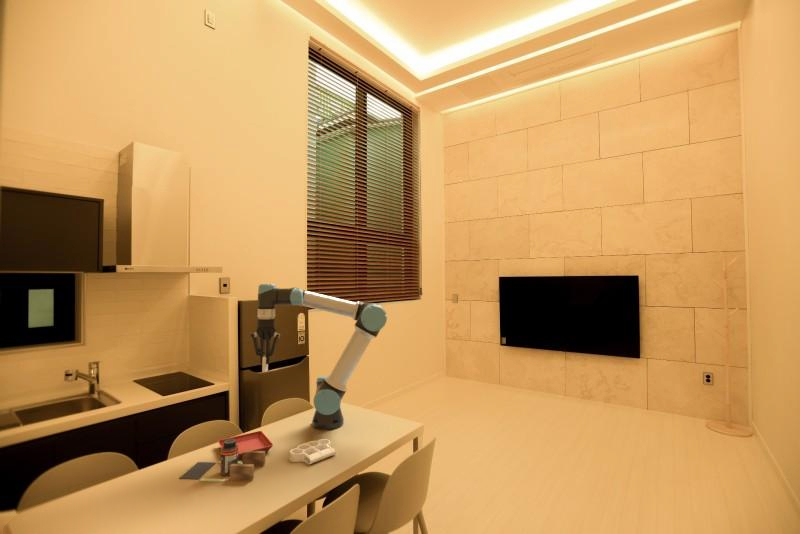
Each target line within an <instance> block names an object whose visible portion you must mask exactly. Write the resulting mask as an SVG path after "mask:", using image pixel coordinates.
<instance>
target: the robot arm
mask: <svg viewBox="0 0 800 534" xmlns="http://www.w3.org/2000/svg"><path fill="white" fill-rule="evenodd" d="M276 285H277V284H275V283H260V284H259V285H258V289H257V291H258V292H257V319H256V321H257V322H256V330H255V332H253V333H251V334H250V337H251V338H252V340H253V346H254V351H255V355H256V356H259V357H260V358H259V359H260V361H259V362H260V365H261V366H262V367H261V369H262V373H266V372H268V371H269V364H270V363H271V356H274V355H275V354H276V353H275V352H276V349H277V345H278V341H279V339H280V337H281V333H279V332H277V331H276V328H275V327H276V319H275V318H276V306H302V307H307V308H311V309H315V310H320V311H324V312H328V313H332V314H336V315H340V316H344V317H349V318H352V320H353V321H355V324H354V325H353V326H354V329H355V330H354V331H353V333H352V335H351V337H350V339H349V341H348V343H347V344H346V346H345V348H344V350H343V351H342V352H341V355H340V357H339V359H338V360H337V362H336V363H335V366H334V367H333V369H332V370H331V372H330V374H329V375H322V376H318V377H317V379H316V382H315V383H316V388H315V389H316V390H315V394H314V397H313V406H314V409H315V411H314V415H313V417H312V419H311V426H312V427H313V428H315V429H318V430H326V431H328V430H333V429H338V428H340V427H342V426H343V425H344V424H345V423H344V422H345V421H344V415H343V412H342V409H341V403H342V402H341V401H342V399H343V397H344V396H345V395H346V392H347V391H348V388H347V384H348V382H349V381H350V379H351V377H352V376H353V373H354V371H355V369H356V367H357V366H358V364H359V362H360V361H361V359H362V356H363V355H364V353H365V351H366V350H367V348H368V346H369V344H370V343H371V340H372V339H375V338H377V336H378V335H379V332H380V331H381V330H382V329H383V328H384V327H385V326H386V324H387V320H388V318H387V317H388V315H387V311H386V310H385V308H384V307H382V305H379V304H378V303H374V302H366V301H365V302H364V301H359V300H358V301H351V300H347V299H343V298H339V297H334V296H330V295H326V294H321V293H318V292H314V291H309V290H304V289H303V288H298V287H291V288H290V287H289V288H278V287H277V286H276ZM258 337H259V338H258ZM273 337H274V338H273ZM272 338H273V341H272ZM259 342H260V343H259ZM271 342H272V343H271Z"/></svg>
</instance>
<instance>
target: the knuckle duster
mask: <svg viewBox="0 0 800 534" xmlns="http://www.w3.org/2000/svg"><path fill="white" fill-rule="evenodd" d="M335 455H336V450H335V449H334V448H333V447H331V440H330V439H328V438H321V439H318V440H310V441H307V442H304V443H301V444H298V446H297V447H295V448H291V449H289V461H290V462H292V463H300V462H303V463H306V465H312V464H314V463H316V462H320V461H322V460H324V459H327V458H330V457H333V456H335Z"/></svg>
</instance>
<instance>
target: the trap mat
mask: <svg viewBox="0 0 800 534" xmlns="http://www.w3.org/2000/svg"><path fill="white" fill-rule="evenodd" d="M216 464H217V462H214V461H213V462H212V461H211V462H210V461H198V462H196V463H195V464H194V465H192V466H191V467H190V468H189V469H188V470H187V471H186V472H185V473H183V474H182V475H181V476H180V477H179V478H178V479H180V480H200V478H201V479H202V478H203V476H204V475H205V474H206V473H207V472H208V471H209V470H210V469H211V468H212V467H214V466H215V465H216Z"/></svg>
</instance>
